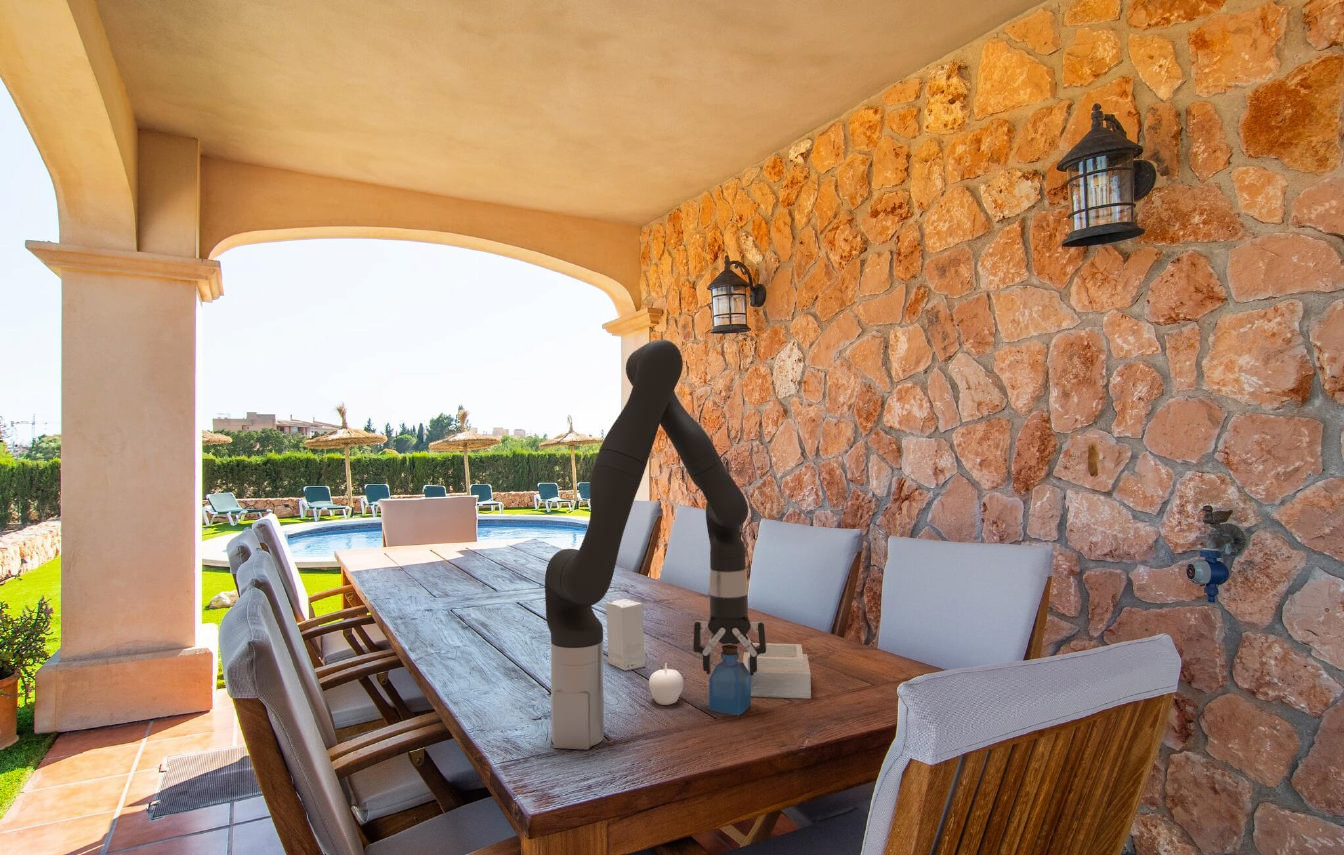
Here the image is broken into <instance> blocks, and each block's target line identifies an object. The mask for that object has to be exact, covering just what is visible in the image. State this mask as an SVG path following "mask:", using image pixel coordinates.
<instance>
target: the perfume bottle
mask: <svg viewBox="0 0 1344 855" xmlns="http://www.w3.org/2000/svg"><path fill="white" fill-rule="evenodd" d="M738 648H739V647H738V646H737V645H736V644H723V645H722V646H721V650H722V651H721V652H720V659H721V660H722V661H721V662H720V663H717V665H716V666H715V667H714V669H713V671H712V672H711V674H710V676H709V678H708V692H709V693H708V695H709V697H708V700H709V701H708V703H709V704H708V705H709V706H708V707H709V710H708V711H709V712H713V711H715V712H714V713H718V712H719V714H724V713H726V714H725V715H730V714H734V715H733V716H735V715H738V716H737V717H740V716H741V715H742V714H743V713H745V711H747V709H749V708H750V707H751V706H752V701H751V700H752V698H751V697H752V696H751V675H750V673H749V671H748V670H747V668H746V666H745V665H744V663H743V661H742V662H741V661H738V660H739V657H740V656H739V652H738ZM740 714H741V715H740ZM739 715H740V716H739Z"/></svg>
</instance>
